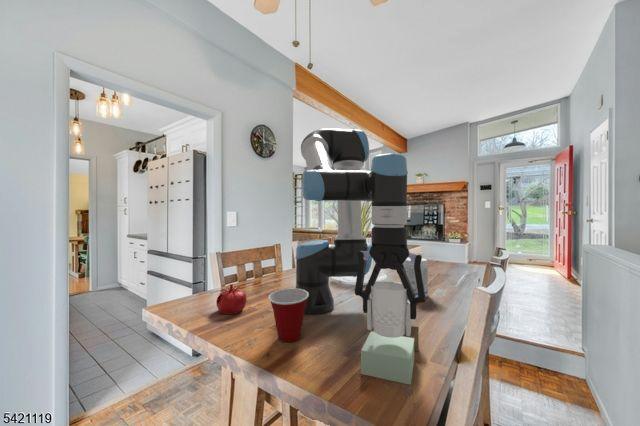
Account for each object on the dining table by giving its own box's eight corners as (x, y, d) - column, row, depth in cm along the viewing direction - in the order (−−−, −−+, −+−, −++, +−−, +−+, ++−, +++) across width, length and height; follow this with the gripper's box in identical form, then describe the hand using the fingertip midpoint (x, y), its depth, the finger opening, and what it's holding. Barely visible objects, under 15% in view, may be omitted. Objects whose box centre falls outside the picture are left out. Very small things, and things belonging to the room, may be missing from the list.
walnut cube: (393, 349, 70) (393, 325, 70) (390, 338, 76) (390, 316, 76) (418, 351, 69) (418, 326, 69) (413, 340, 75) (413, 317, 75)
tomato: (251, 307, 101) (251, 281, 101) (238, 317, 91) (239, 288, 91) (224, 305, 102) (225, 279, 102) (210, 315, 93) (210, 286, 93)
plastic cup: (259, 342, 74) (259, 296, 74) (284, 326, 83) (283, 286, 83) (294, 351, 69) (294, 302, 69) (316, 334, 78) (316, 291, 78)
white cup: (363, 328, 64) (363, 283, 64) (390, 321, 67) (390, 279, 67) (387, 342, 57) (387, 292, 57) (416, 334, 60) (416, 287, 60)
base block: (361, 373, 59) (361, 350, 59) (371, 351, 69) (370, 331, 69) (410, 384, 56) (410, 359, 56) (414, 359, 65) (414, 338, 65)
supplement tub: (419, 291, 120) (419, 256, 120) (432, 298, 111) (433, 260, 110) (398, 292, 118) (398, 257, 118) (410, 299, 109) (410, 261, 108)
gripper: (339, 226, 62) (339, 329, 62) (440, 228, 55) (439, 346, 55) (348, 224, 69) (348, 317, 69) (439, 226, 61) (439, 331, 62)
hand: (389, 330), depth 62 cm, fingers closed on white cup, 7 cm apart
